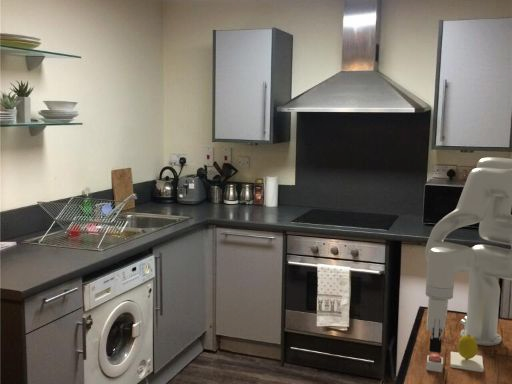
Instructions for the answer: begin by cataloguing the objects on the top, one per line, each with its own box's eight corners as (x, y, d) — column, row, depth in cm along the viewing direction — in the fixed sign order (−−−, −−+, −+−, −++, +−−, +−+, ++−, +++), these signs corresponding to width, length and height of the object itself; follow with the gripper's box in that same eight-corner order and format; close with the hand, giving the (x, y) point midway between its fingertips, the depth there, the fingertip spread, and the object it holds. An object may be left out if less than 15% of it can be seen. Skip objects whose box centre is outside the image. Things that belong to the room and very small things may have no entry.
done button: (430, 358, 166) (430, 352, 166) (440, 359, 166) (440, 354, 165) (429, 362, 164) (430, 356, 164) (439, 363, 163) (440, 358, 163)
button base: (426, 363, 168) (427, 355, 167) (442, 365, 166) (443, 357, 166) (426, 369, 164) (426, 361, 163) (442, 372, 162) (442, 363, 162)
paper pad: (450, 354, 174) (450, 351, 174) (481, 359, 171) (481, 355, 171) (450, 367, 166) (450, 364, 165) (483, 372, 163) (483, 368, 163)
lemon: (453, 358, 169) (454, 333, 168) (464, 354, 172) (465, 329, 171) (469, 365, 164) (471, 339, 163) (480, 360, 168) (482, 335, 166)
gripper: (426, 281, 169) (422, 339, 172) (424, 297, 155) (420, 359, 158) (453, 284, 167) (448, 343, 170) (453, 300, 153) (448, 364, 156)
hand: (435, 351), depth 164 cm, fingers closed
